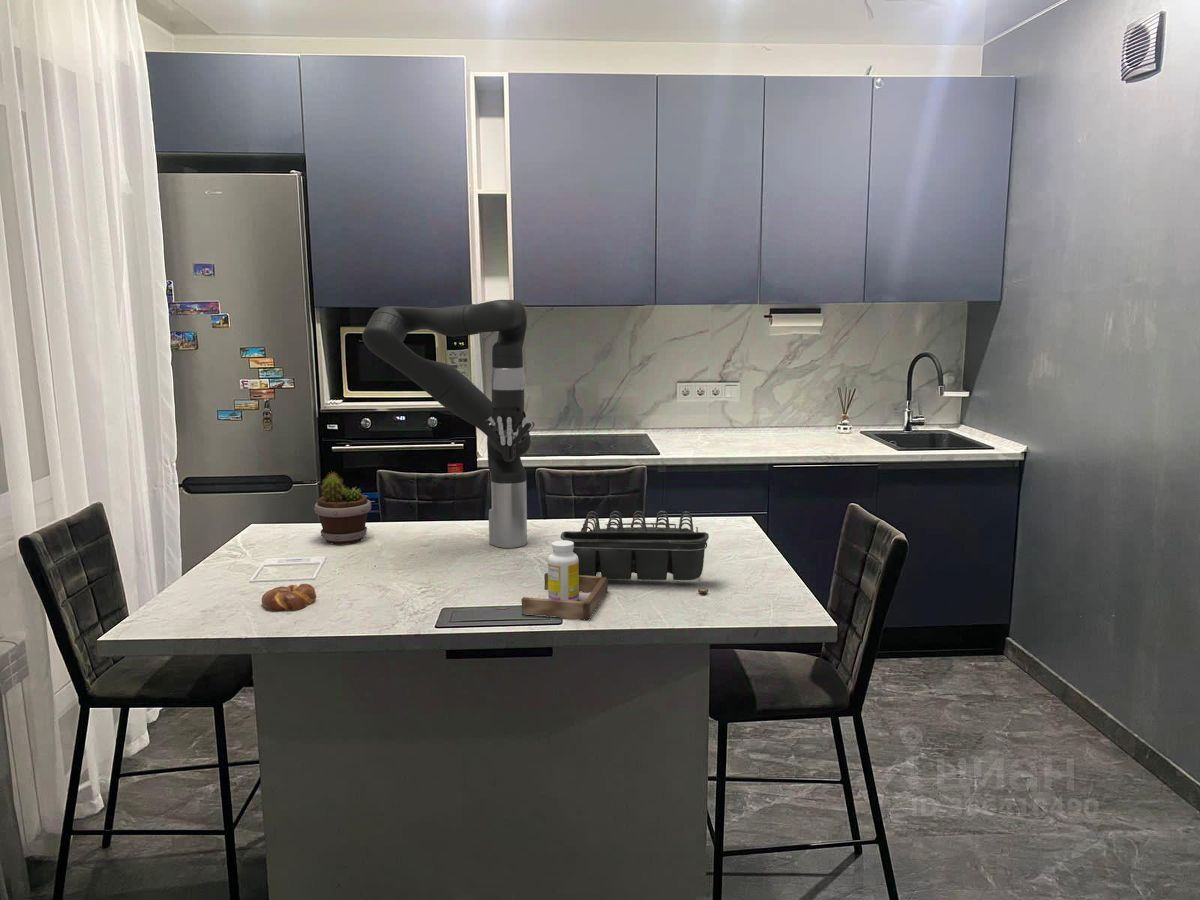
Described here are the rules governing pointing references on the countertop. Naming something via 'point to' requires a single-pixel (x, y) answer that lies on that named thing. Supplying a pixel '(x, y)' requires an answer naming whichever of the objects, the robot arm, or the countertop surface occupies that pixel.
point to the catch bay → (569, 608)
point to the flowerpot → (342, 512)
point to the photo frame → (290, 563)
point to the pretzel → (289, 597)
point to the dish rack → (639, 549)
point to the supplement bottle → (563, 572)
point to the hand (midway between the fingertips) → (509, 460)
